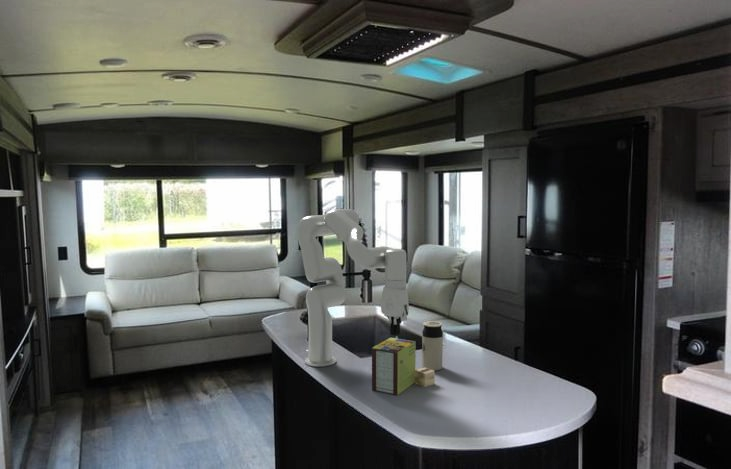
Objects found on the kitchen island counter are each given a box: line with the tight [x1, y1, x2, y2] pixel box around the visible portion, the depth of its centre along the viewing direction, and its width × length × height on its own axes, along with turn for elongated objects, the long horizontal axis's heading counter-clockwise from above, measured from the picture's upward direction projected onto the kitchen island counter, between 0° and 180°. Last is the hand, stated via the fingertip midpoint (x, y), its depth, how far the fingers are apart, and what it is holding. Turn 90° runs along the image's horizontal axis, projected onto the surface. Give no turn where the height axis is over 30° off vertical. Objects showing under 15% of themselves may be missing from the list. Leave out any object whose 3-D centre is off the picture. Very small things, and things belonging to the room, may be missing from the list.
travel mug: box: [421, 320, 444, 372], centre depth 217 cm, size 8×8×18 cm
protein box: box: [371, 337, 417, 396], centre depth 197 cm, size 10×15×16 cm
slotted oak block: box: [414, 367, 436, 388], centre depth 200 cm, size 5×5×5 cm
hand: (395, 334), depth 196 cm, fingers closed
